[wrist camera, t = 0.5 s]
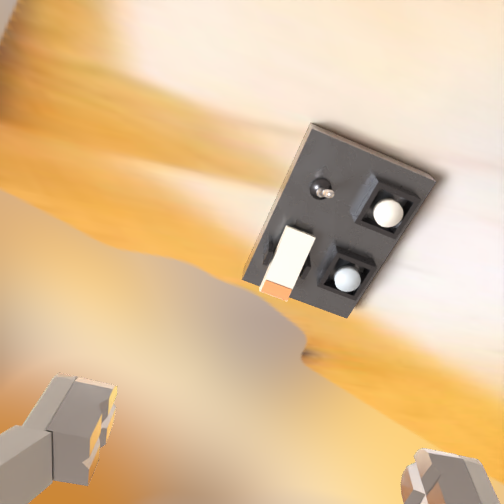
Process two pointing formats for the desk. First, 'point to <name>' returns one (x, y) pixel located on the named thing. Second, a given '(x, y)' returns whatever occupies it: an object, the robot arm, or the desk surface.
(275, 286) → the rocker
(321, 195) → the toggle lever
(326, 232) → the panel
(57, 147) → the desk surface
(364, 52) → the desk surface
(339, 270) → the button
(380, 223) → the button
